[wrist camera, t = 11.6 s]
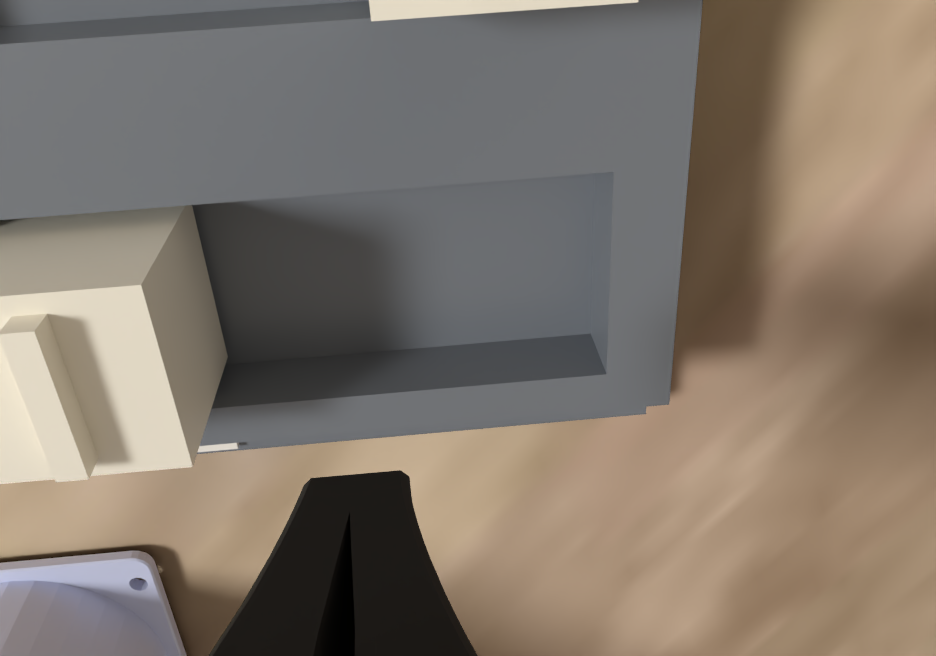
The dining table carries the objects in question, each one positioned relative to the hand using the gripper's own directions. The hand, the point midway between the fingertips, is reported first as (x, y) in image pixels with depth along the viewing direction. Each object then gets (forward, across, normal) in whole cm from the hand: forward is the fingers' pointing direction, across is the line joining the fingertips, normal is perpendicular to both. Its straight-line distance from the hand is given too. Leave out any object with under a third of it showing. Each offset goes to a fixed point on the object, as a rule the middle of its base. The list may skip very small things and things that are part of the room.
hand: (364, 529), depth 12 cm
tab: (+8, +6, 0) cm, 10 cm away
